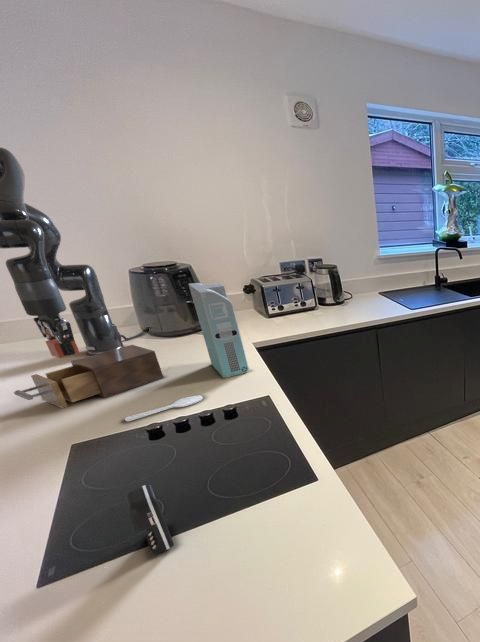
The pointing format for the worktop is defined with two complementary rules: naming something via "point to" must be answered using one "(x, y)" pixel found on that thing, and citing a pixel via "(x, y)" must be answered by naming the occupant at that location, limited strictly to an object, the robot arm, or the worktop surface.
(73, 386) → the drawer
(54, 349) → the block
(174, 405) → the spoon
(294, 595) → the worktop surface
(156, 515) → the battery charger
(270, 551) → the worktop surface
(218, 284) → the device
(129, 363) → the cabinet
